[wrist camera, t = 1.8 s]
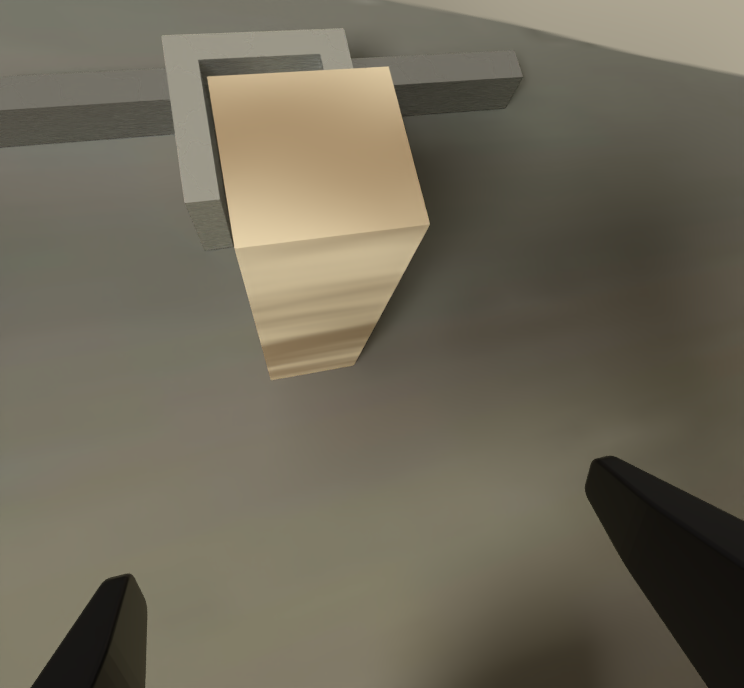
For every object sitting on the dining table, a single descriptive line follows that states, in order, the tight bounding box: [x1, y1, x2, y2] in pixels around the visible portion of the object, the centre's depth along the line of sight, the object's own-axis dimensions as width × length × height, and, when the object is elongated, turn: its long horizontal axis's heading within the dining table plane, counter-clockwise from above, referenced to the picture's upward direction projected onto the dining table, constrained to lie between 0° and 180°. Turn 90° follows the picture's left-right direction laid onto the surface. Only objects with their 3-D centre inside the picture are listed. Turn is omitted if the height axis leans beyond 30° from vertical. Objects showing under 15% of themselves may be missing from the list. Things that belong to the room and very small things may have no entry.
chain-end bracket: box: [0, 28, 523, 251], centre depth 23 cm, size 9×28×4 cm, turn 102°
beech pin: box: [207, 67, 430, 380], centre depth 17 cm, size 4×4×14 cm
